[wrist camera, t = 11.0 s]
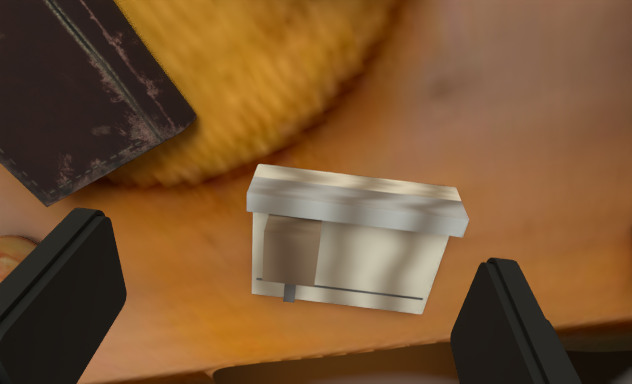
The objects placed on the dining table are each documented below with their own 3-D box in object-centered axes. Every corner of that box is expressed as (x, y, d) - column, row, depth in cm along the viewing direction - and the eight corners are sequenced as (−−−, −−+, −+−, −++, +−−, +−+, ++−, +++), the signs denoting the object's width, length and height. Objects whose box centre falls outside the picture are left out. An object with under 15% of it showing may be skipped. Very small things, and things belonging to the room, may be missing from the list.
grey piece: (455, 187, 41) (469, 219, 37) (419, 298, 50) (425, 335, 45) (258, 163, 41) (246, 193, 37) (255, 278, 50) (246, 313, 46)
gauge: (323, 206, 40) (320, 238, 36) (312, 292, 47) (308, 328, 43) (272, 200, 40) (263, 231, 36) (268, 287, 47) (260, 322, 43)
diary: (-14, -193, 29) (-76, -216, 24) (203, 109, 40) (186, 130, 35) (-156, -44, 34) (-227, -42, 30) (69, 185, 45) (40, 211, 41)
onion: (-24, 213, 48) (-104, 273, 39) (61, 224, 48) (-1, 287, 39) (1, 273, 53) (-65, 338, 45) (77, 284, 53) (26, 350, 45)
